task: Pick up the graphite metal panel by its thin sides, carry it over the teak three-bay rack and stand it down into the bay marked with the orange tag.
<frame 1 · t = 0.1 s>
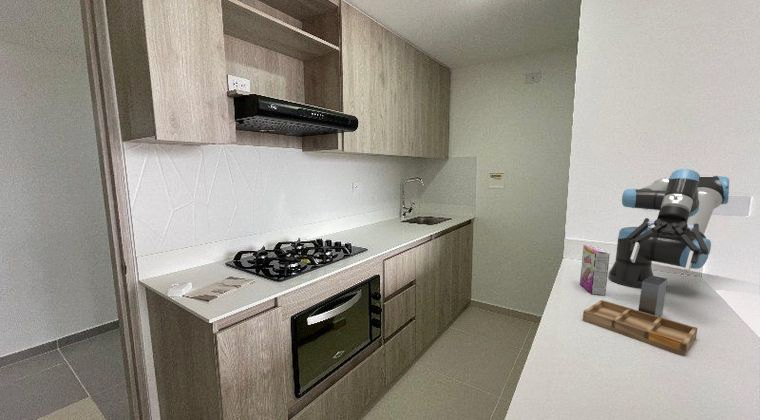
hand: (658, 266, 103), 15 cm above the worktop, tool tilted 35°, fingers open, 13 cm apart
bay rack: (636, 328, 93), on the worktop
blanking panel: (650, 316, 102), on the worktop
candy bar box: (591, 290, 123), on the worktop
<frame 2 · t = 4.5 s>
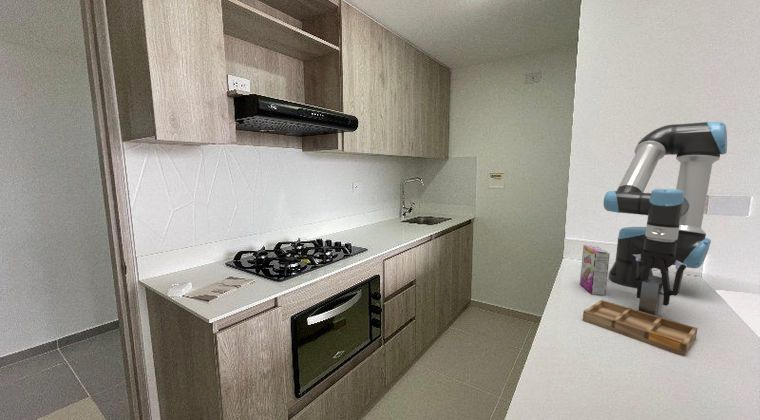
hand: (650, 311, 101), 2 cm above the worktop, tool pointing down, fingers closed on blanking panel, 4 cm apart
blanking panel: (650, 316, 102), on the worktop, touching gripper
everything else where it was.
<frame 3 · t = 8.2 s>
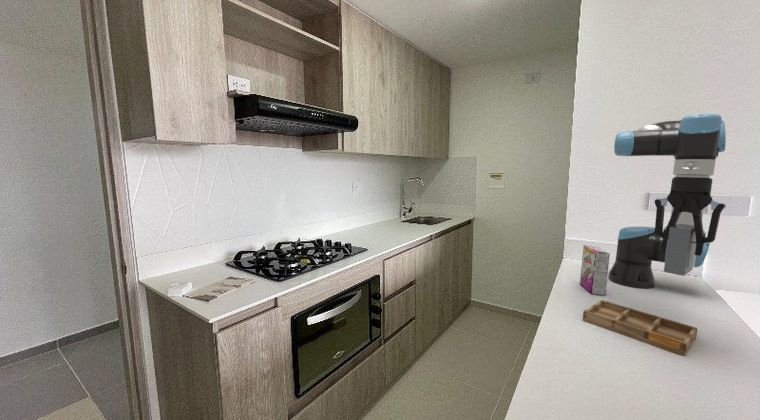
hand: (679, 264, 85), 21 cm above the worktop, tool pointing down, fingers closed on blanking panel, 4 cm apart
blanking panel: (678, 270, 85), point 19 cm above the worktop, touching gripper
everything else where it was.
when the fingers open (4 cm above the worktop, at t = 12.1 s): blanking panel drops 1 cm, resting on bay rack.
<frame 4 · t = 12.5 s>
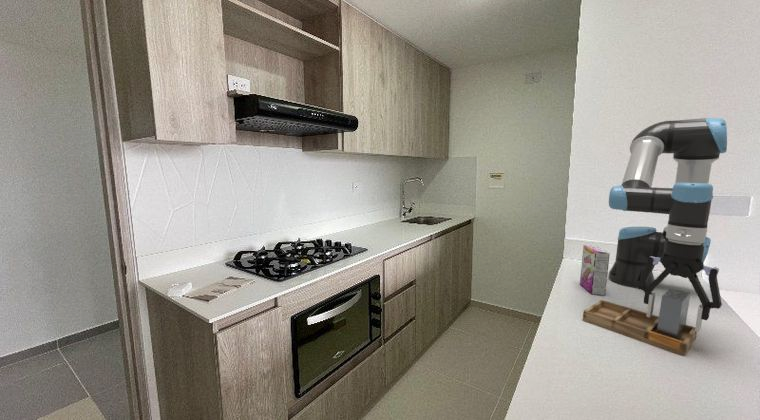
hand: (672, 322, 87), 5 cm above the worktop, tool pointing down, fingers open, 9 cm apart
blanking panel: (670, 336, 87), point 1 cm above the worktop, touching bay rack
everything else where it was.
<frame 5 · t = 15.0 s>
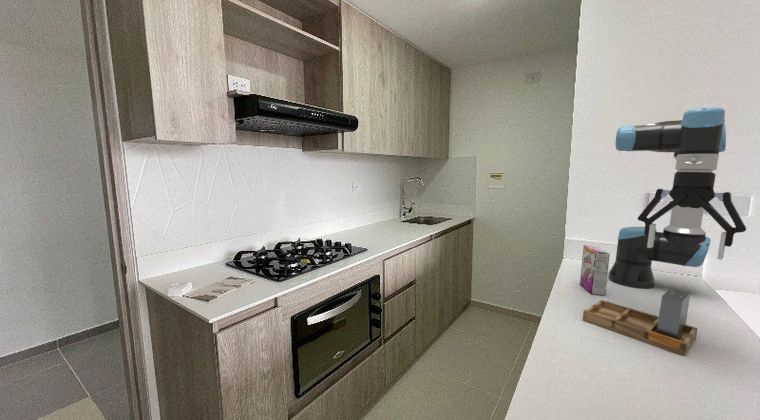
hand: (682, 252, 84), 25 cm above the worktop, tool pointing down, fingers open, 13 cm apart
nothing on the worktop moved.
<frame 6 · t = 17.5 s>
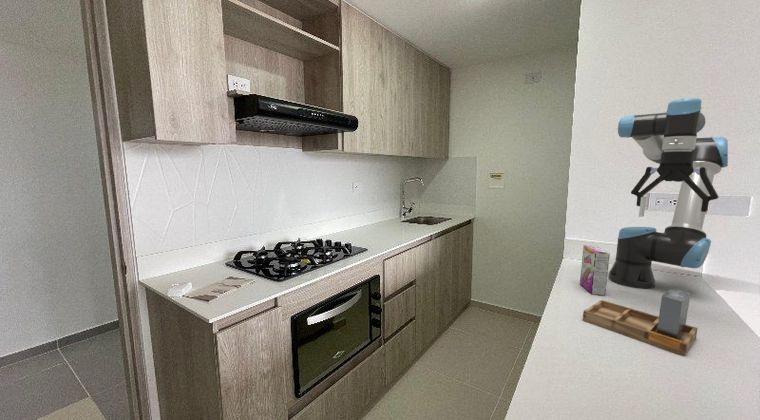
hand: (668, 219, 101), 31 cm above the worktop, tool pointing down, fingers open, 13 cm apart
nothing on the worktop moved.
at the end: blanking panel 0.0 cm from the target spot on the bay rack, point 1.0 cm above the bay rack's base; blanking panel tilted 0°; the gripper is holding nothing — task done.
